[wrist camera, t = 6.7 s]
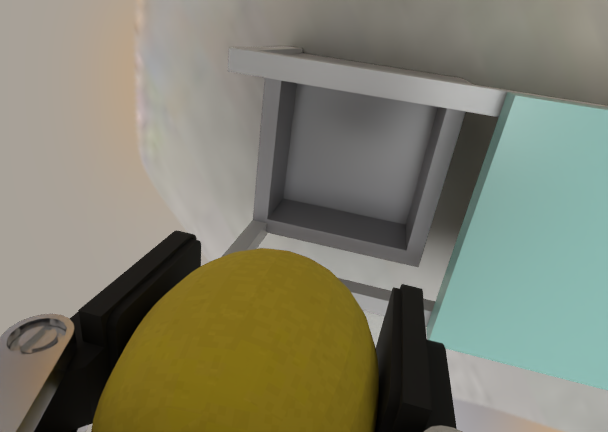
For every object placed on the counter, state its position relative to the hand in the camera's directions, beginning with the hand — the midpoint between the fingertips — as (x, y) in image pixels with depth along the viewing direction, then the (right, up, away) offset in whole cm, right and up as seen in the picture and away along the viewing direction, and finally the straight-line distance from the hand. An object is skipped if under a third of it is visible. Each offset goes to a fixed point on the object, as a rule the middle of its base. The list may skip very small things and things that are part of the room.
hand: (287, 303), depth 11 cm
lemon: (0, +1, +1) cm, 1 cm away
